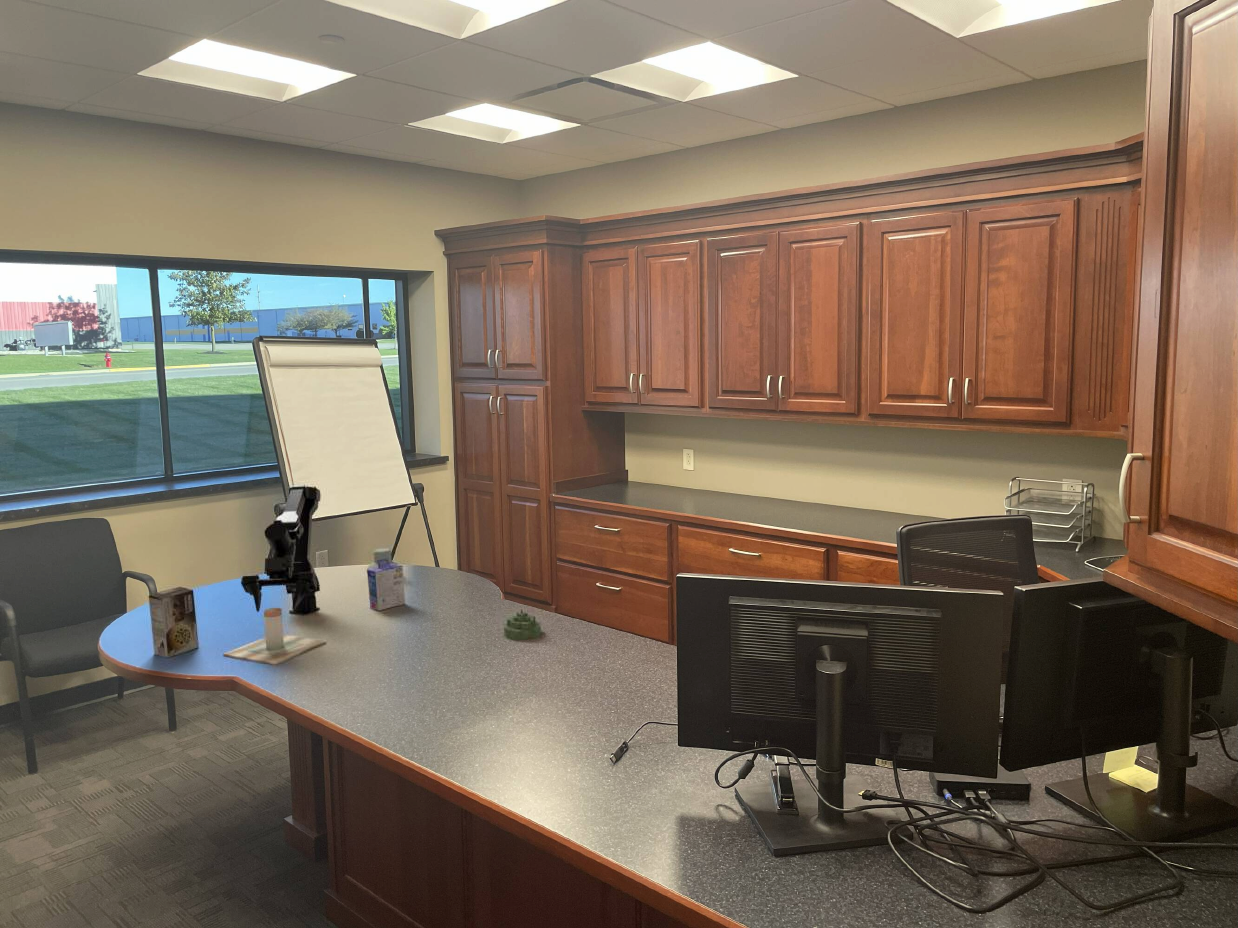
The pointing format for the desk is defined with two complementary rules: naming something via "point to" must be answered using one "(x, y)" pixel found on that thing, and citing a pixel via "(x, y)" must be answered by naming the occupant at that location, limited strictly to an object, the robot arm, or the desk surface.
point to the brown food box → (173, 621)
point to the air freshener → (381, 557)
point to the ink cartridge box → (386, 585)
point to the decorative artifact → (522, 627)
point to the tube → (273, 628)
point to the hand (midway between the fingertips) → (275, 610)
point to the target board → (261, 654)
